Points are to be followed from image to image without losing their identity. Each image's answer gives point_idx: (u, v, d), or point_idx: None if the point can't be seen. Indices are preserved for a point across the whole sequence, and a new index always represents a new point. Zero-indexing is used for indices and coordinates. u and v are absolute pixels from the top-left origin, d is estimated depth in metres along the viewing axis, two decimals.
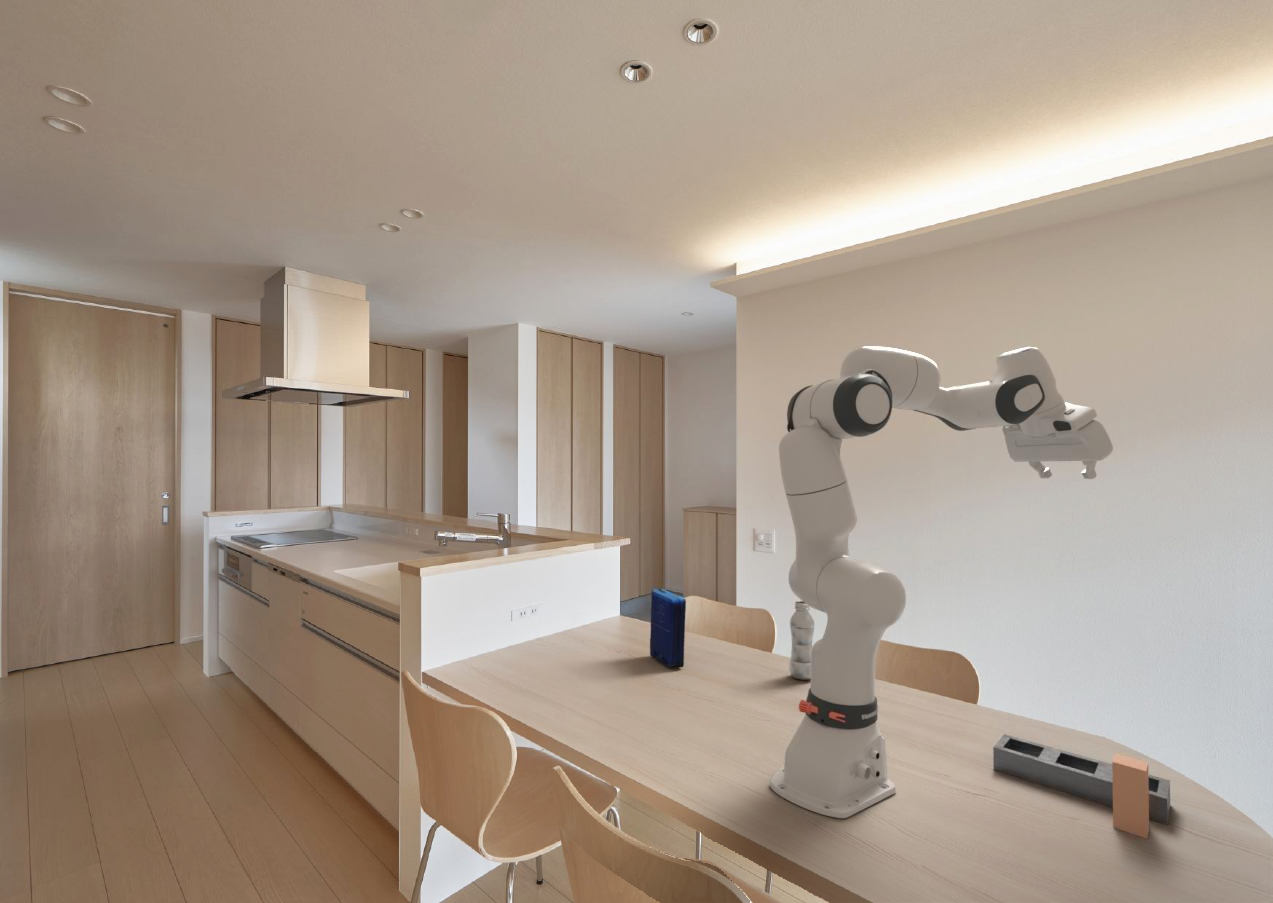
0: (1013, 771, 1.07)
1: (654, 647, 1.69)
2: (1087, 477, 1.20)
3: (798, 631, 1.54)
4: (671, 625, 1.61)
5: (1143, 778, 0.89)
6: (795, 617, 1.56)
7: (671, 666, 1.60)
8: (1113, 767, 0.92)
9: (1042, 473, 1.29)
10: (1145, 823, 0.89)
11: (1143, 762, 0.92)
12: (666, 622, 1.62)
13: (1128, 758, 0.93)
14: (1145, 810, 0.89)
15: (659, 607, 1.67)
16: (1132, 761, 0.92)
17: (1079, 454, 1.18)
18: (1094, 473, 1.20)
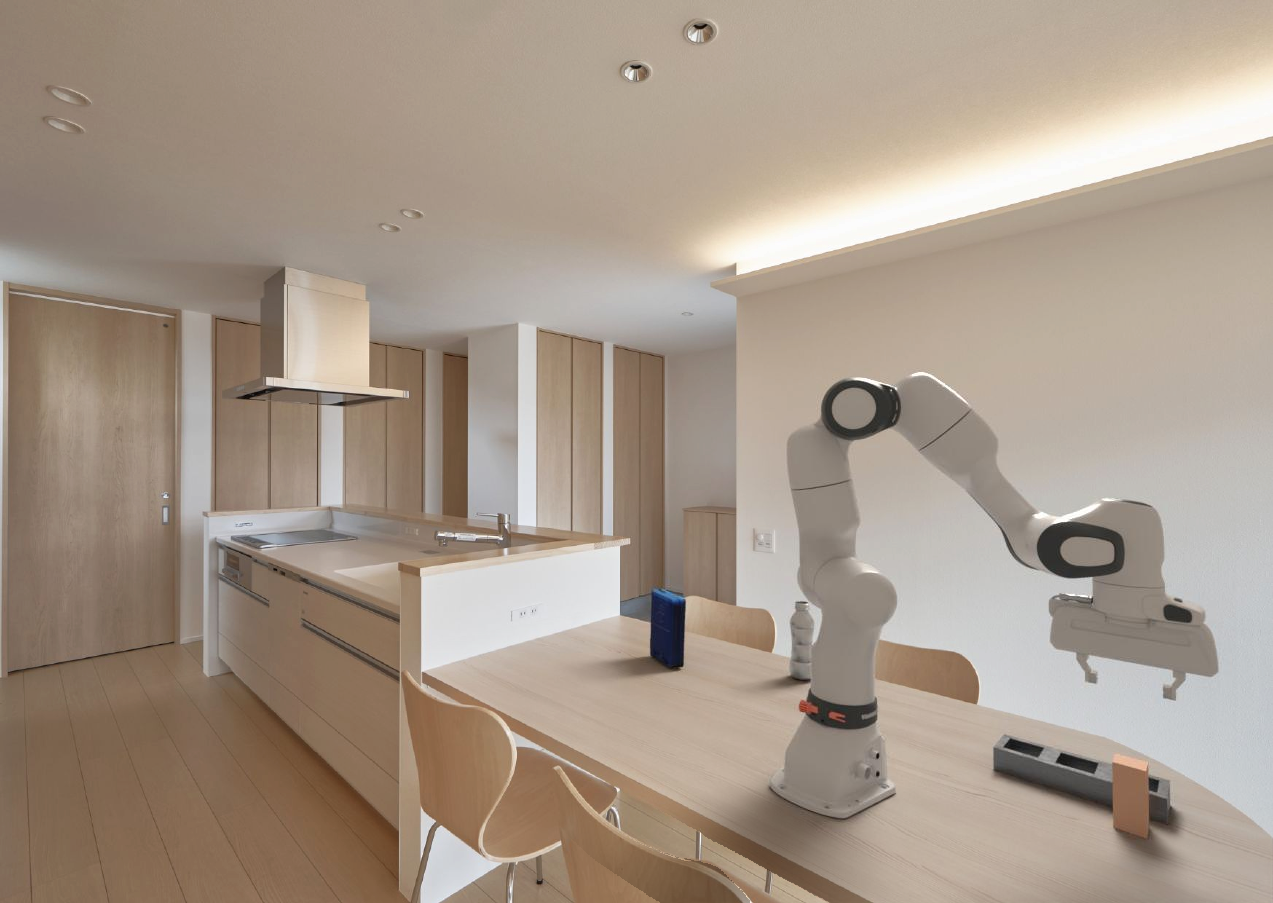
0: (1013, 771, 1.07)
1: (654, 647, 1.69)
2: (1168, 696, 0.89)
3: (798, 631, 1.54)
4: (671, 625, 1.61)
5: (1143, 778, 0.89)
6: (795, 617, 1.56)
7: (671, 666, 1.60)
8: (1113, 767, 0.92)
9: (1092, 675, 0.95)
10: (1145, 823, 0.89)
11: (1143, 762, 0.92)
12: (666, 622, 1.62)
13: (1128, 758, 0.93)
14: (1145, 810, 0.89)
15: (659, 607, 1.67)
16: (1132, 761, 0.92)
17: (1178, 660, 0.87)
18: None
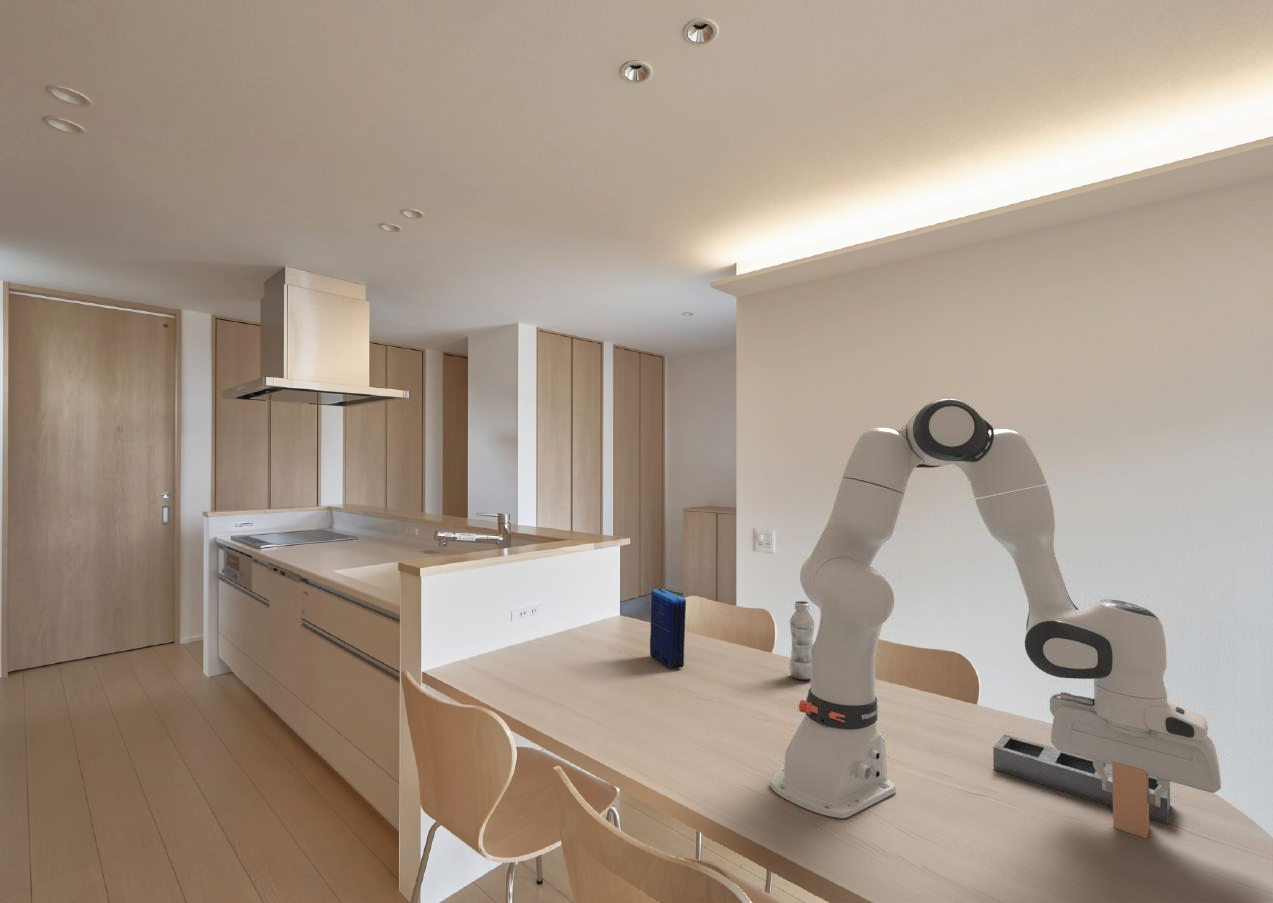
0: (1013, 771, 1.07)
1: (654, 647, 1.69)
2: (1152, 802, 0.89)
3: (798, 631, 1.54)
4: (671, 625, 1.61)
5: (1143, 778, 0.89)
6: (795, 617, 1.56)
7: (671, 666, 1.60)
8: (1113, 767, 0.92)
9: (1109, 784, 0.93)
10: (1145, 823, 0.89)
11: None
12: (666, 622, 1.62)
13: None
14: (1145, 810, 0.89)
15: (659, 607, 1.67)
16: None
17: (1180, 773, 0.87)
18: None
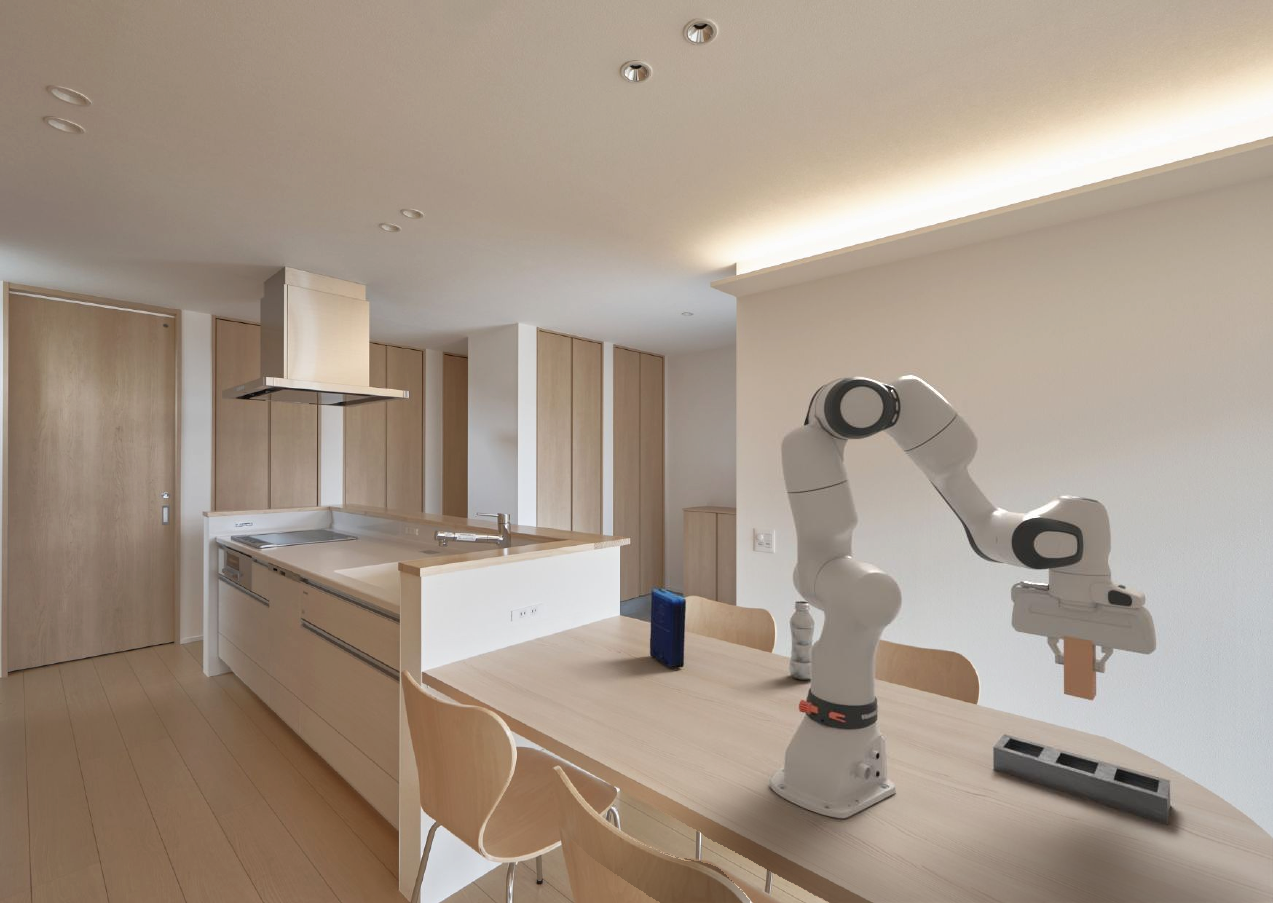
0: (1013, 771, 1.07)
1: (654, 647, 1.69)
2: (1097, 669, 1.01)
3: (798, 631, 1.54)
4: (671, 625, 1.61)
5: (1089, 647, 1.01)
6: (795, 617, 1.56)
7: (671, 666, 1.60)
8: (1064, 641, 1.03)
9: (1061, 657, 1.04)
10: (1091, 687, 1.00)
11: None
12: (666, 622, 1.62)
13: None
14: (1091, 675, 1.00)
15: (659, 607, 1.67)
16: None
17: (1121, 640, 0.98)
18: (1104, 667, 1.01)
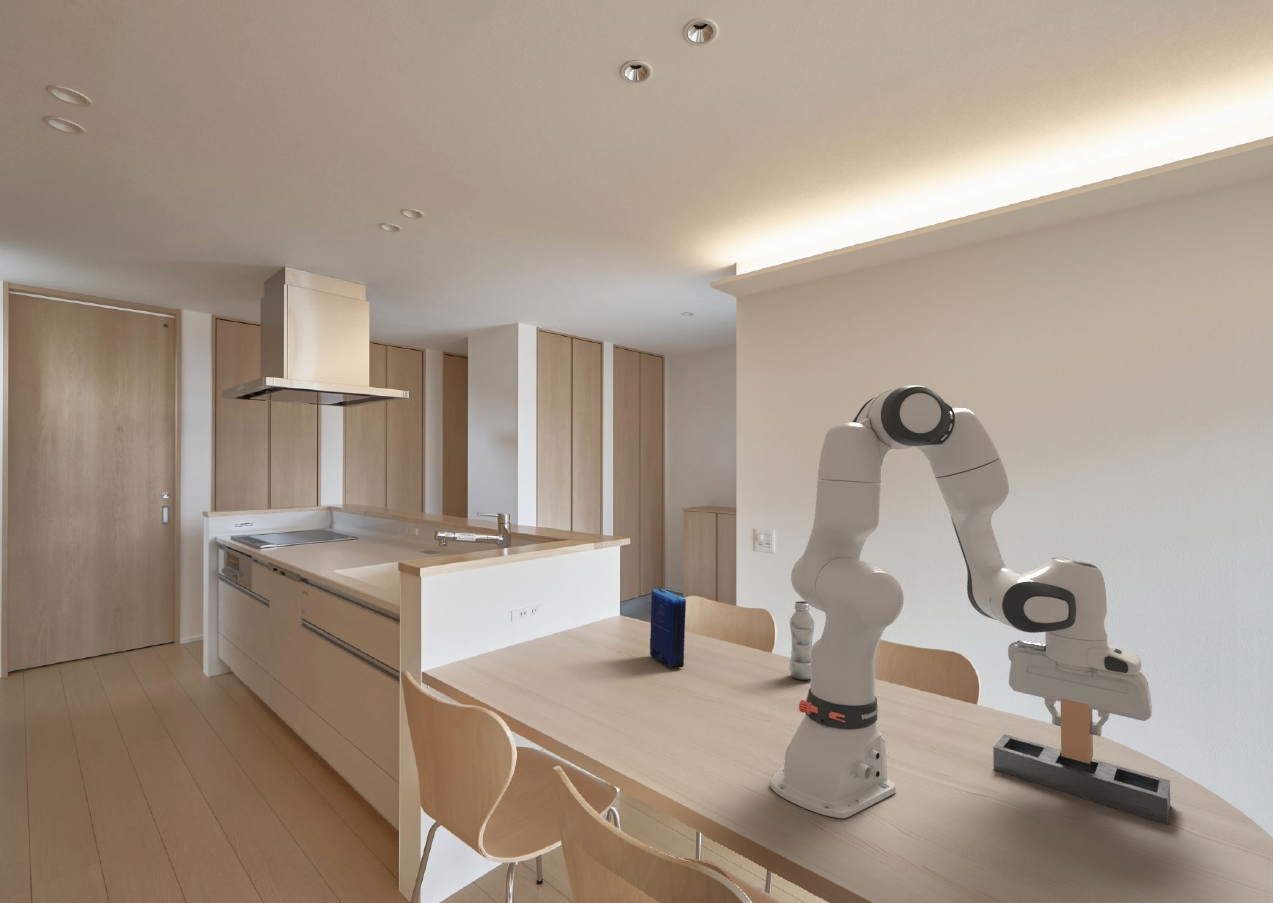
0: (1013, 771, 1.07)
1: (654, 647, 1.69)
2: (1094, 732, 1.02)
3: (798, 631, 1.54)
4: (671, 625, 1.61)
5: (1086, 711, 1.02)
6: (795, 617, 1.56)
7: (671, 666, 1.60)
8: (1061, 703, 1.04)
9: (1058, 719, 1.05)
10: (1088, 750, 1.01)
11: None
12: (666, 622, 1.62)
13: None
14: (1088, 739, 1.01)
15: (659, 607, 1.67)
16: None
17: (1117, 705, 0.99)
18: (1101, 730, 1.02)
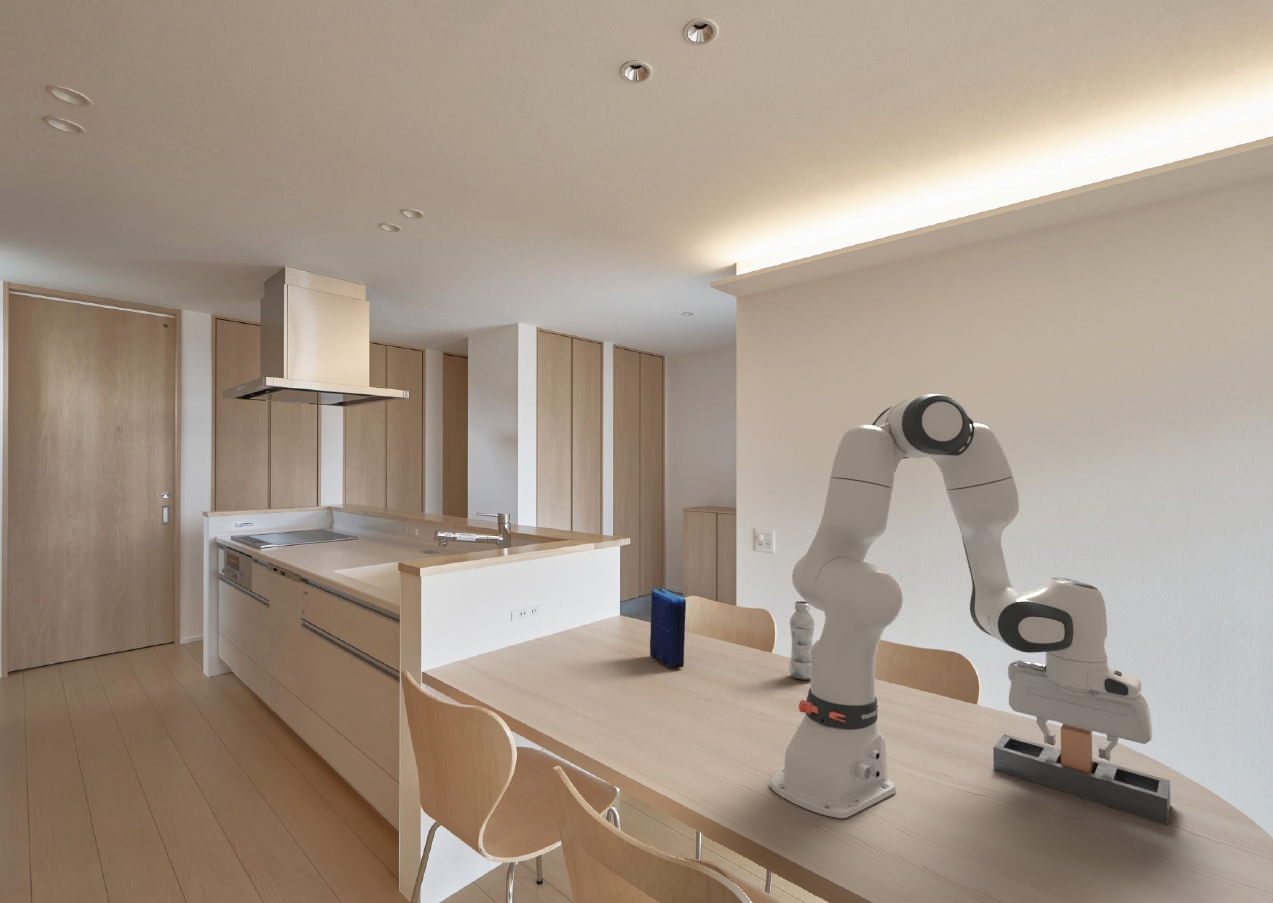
0: (1013, 771, 1.07)
1: (654, 647, 1.69)
2: (1103, 757, 1.01)
3: (798, 631, 1.54)
4: (671, 625, 1.61)
5: (1087, 742, 1.01)
6: (795, 617, 1.56)
7: (671, 666, 1.60)
8: (1061, 733, 1.04)
9: (1050, 737, 1.06)
10: None
11: None
12: (666, 622, 1.62)
13: None
14: (1088, 770, 1.01)
15: (659, 607, 1.67)
16: (1078, 728, 1.04)
17: (1117, 728, 0.99)
18: (1110, 754, 1.01)
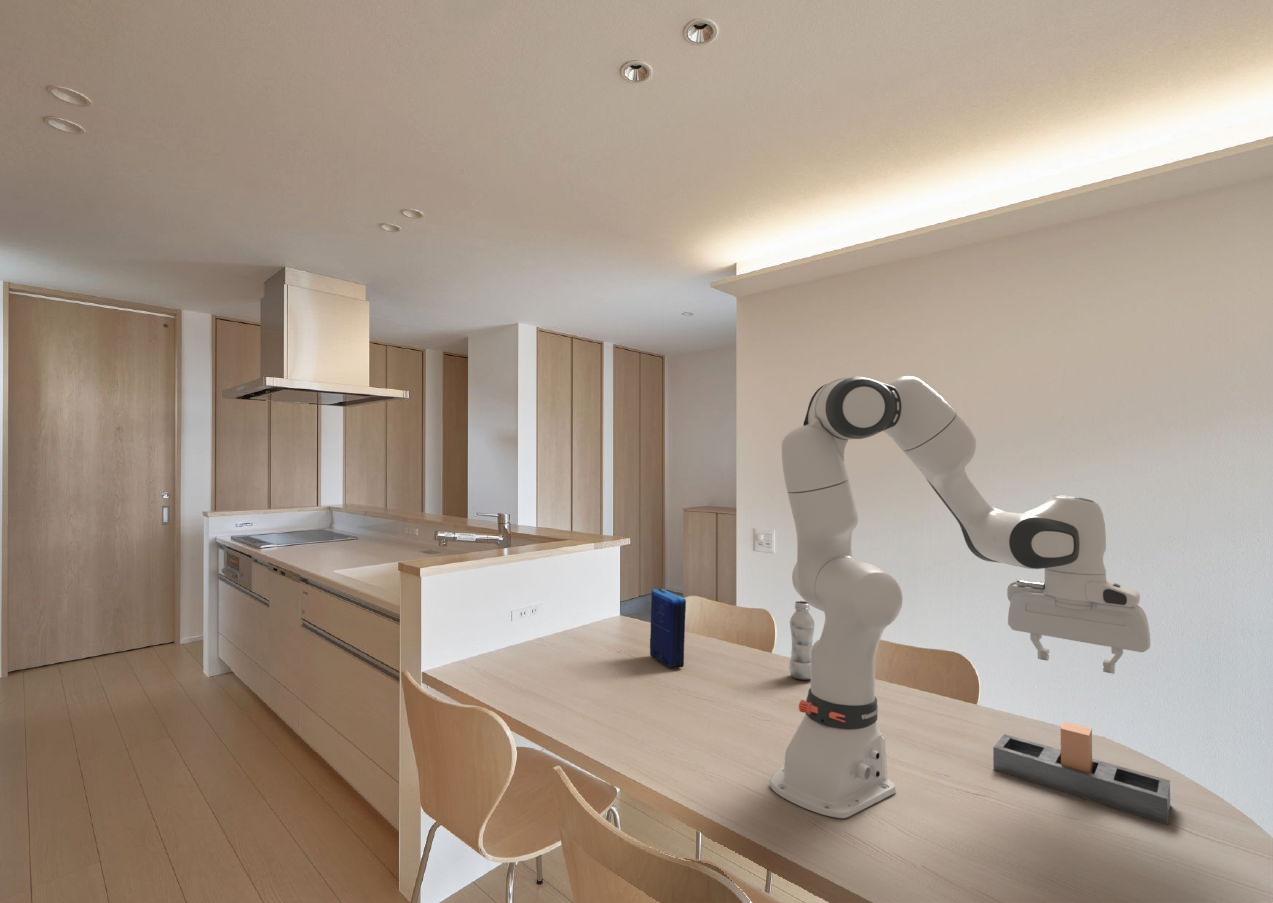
0: (1013, 771, 1.07)
1: (654, 647, 1.69)
2: (1107, 670, 1.01)
3: (798, 631, 1.54)
4: (671, 625, 1.61)
5: (1086, 742, 1.01)
6: (795, 617, 1.56)
7: (671, 666, 1.60)
8: (1061, 733, 1.04)
9: (1043, 653, 1.07)
10: None
11: (1087, 728, 1.04)
12: (666, 622, 1.62)
13: (1075, 725, 1.05)
14: (1088, 770, 1.01)
15: (659, 607, 1.67)
16: (1078, 728, 1.04)
17: (1116, 638, 0.99)
18: (1114, 668, 1.01)
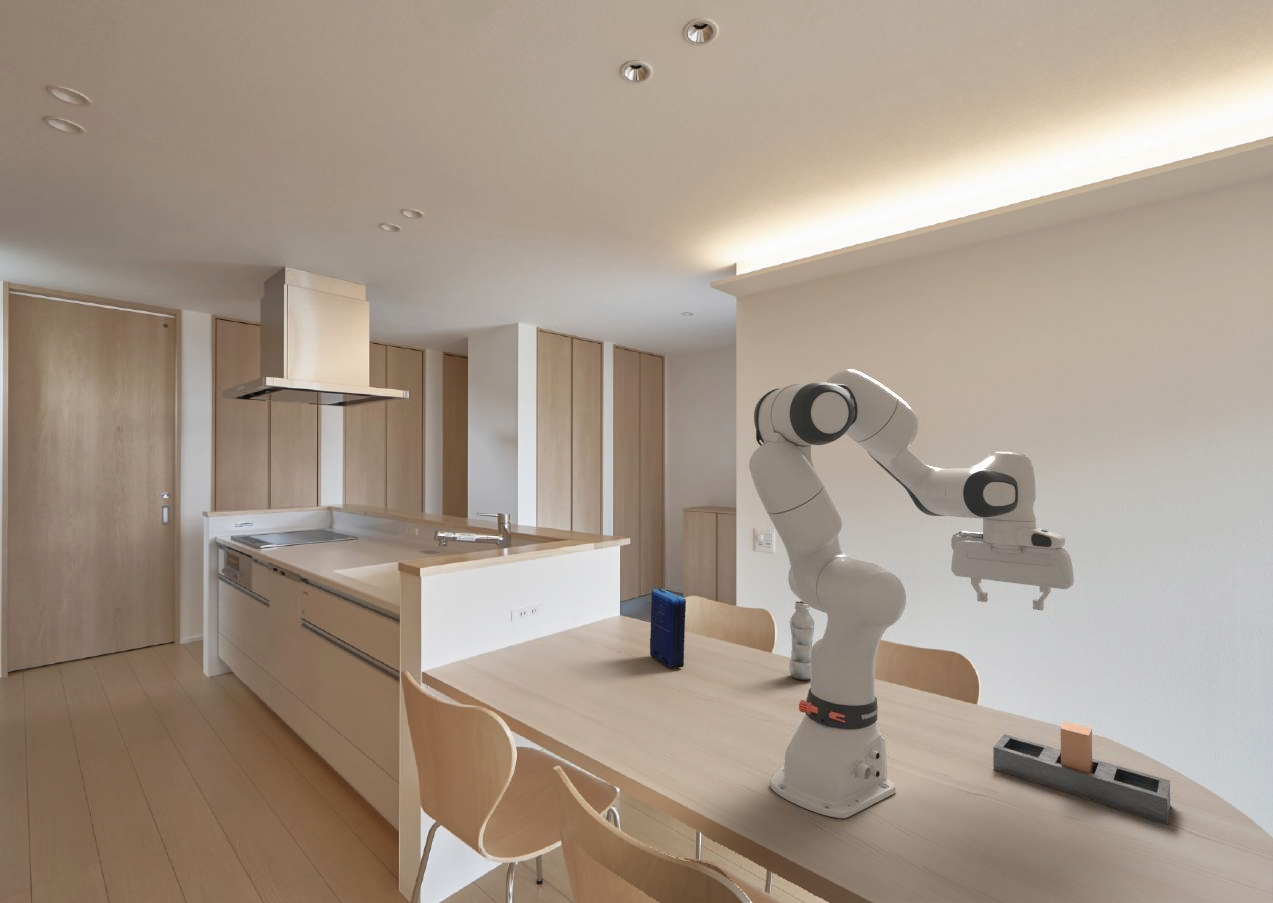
0: (1013, 771, 1.07)
1: (654, 647, 1.69)
2: (1036, 607, 1.11)
3: (798, 631, 1.54)
4: (671, 625, 1.61)
5: (1086, 742, 1.01)
6: (795, 617, 1.56)
7: (671, 666, 1.60)
8: (1061, 733, 1.04)
9: (982, 595, 1.18)
10: None
11: (1087, 728, 1.04)
12: (666, 622, 1.62)
13: (1075, 725, 1.05)
14: (1088, 770, 1.01)
15: (659, 607, 1.67)
16: (1078, 728, 1.04)
17: (1043, 578, 1.10)
18: (1043, 605, 1.12)
